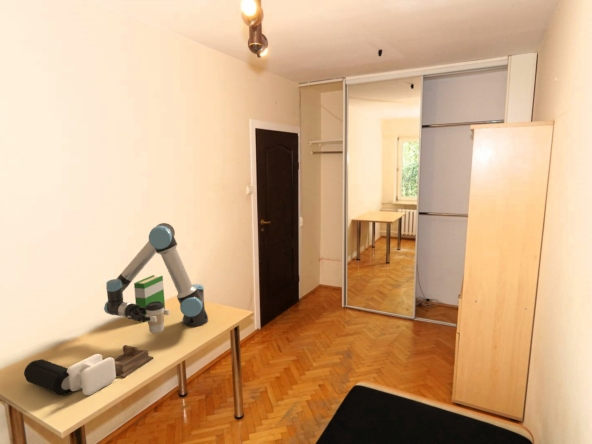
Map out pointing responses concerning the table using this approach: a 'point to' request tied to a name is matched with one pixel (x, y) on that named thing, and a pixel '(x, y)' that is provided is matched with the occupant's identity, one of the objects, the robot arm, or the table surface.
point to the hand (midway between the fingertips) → (162, 315)
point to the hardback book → (149, 291)
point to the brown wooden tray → (130, 360)
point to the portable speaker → (48, 376)
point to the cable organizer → (91, 374)
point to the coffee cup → (158, 311)
